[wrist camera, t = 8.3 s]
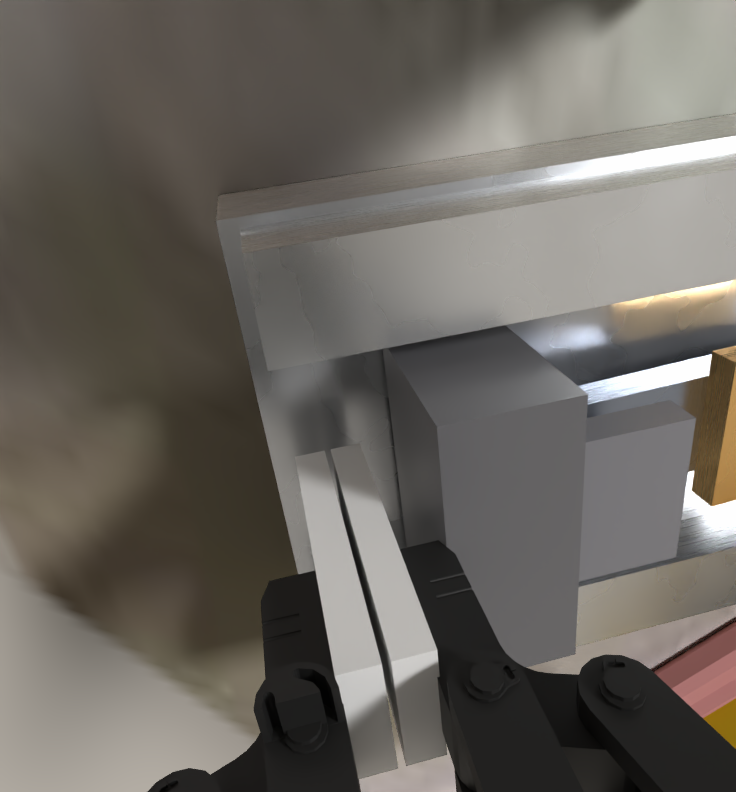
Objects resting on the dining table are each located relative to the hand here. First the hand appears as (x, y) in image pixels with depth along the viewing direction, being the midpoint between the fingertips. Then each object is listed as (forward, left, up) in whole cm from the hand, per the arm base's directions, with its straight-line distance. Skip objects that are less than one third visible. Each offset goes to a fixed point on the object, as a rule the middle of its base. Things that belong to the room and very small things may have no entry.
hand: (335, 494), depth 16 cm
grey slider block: (0, +5, -1) cm, 5 cm away
